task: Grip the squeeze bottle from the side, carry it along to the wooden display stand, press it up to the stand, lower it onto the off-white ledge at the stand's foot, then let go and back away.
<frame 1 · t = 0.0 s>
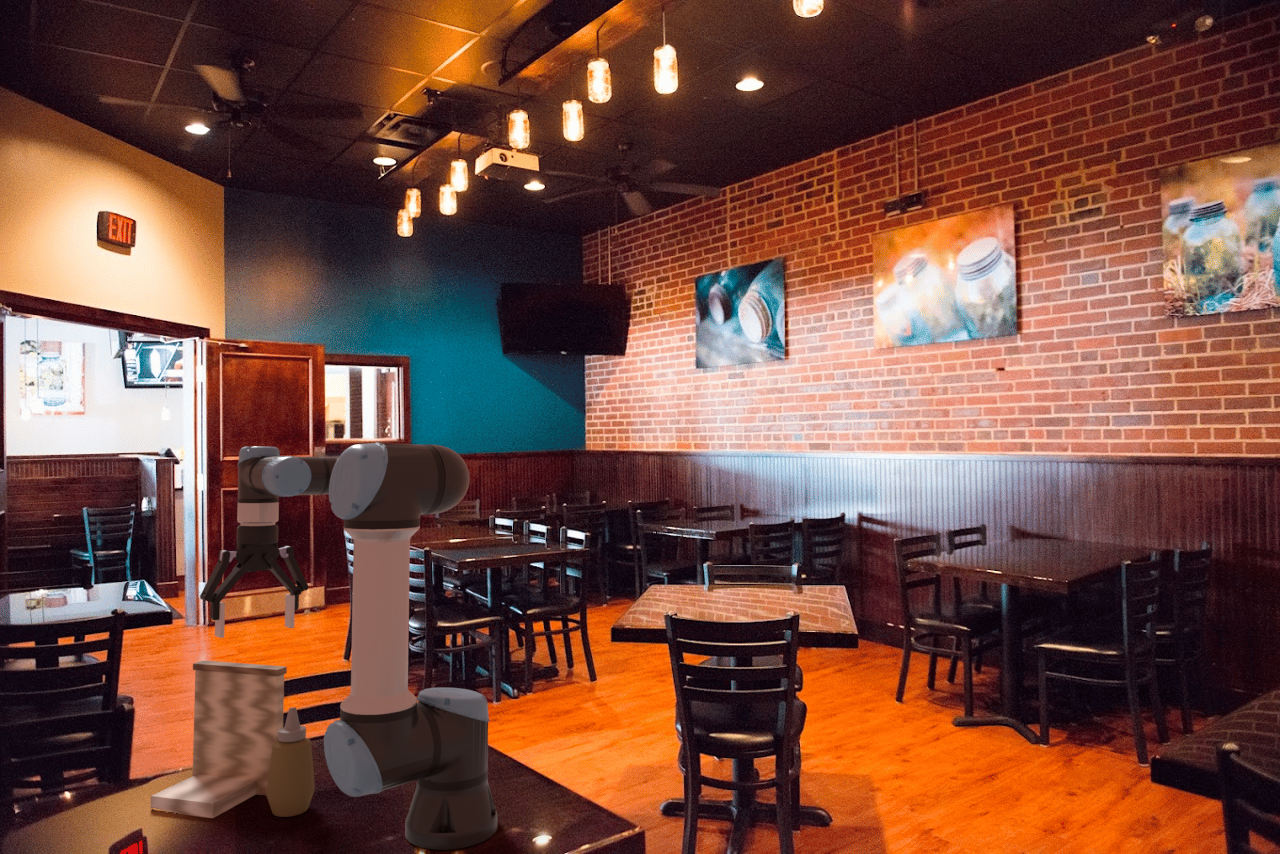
hand: (255, 631, 170), 28 cm above the table, tool pointing down, fingers open, 13 cm apart
squeeze bottle: (290, 812, 152), on the table
wooden display stand: (218, 802, 155), on the table
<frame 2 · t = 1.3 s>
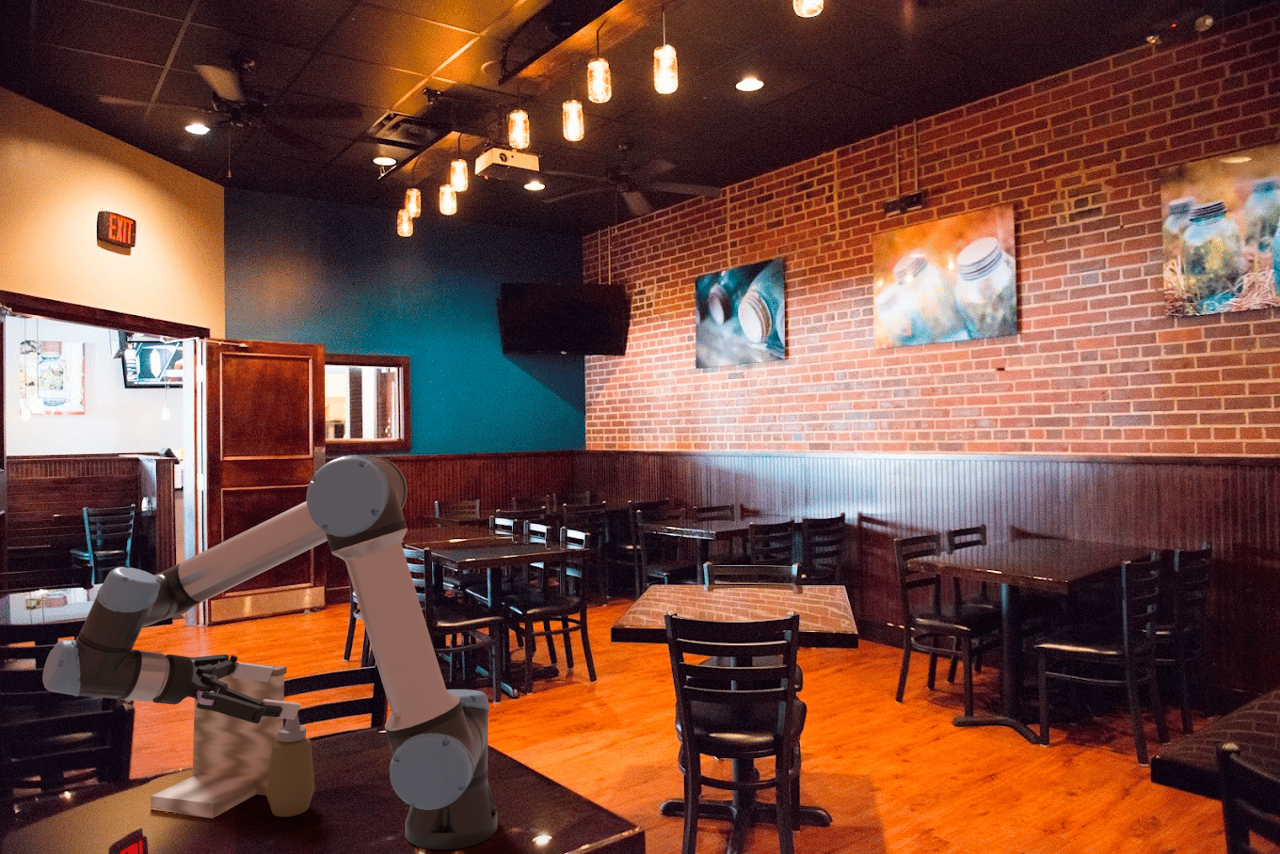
hand: (283, 692, 151), 21 cm above the table, tool tilted 75°, fingers open, 13 cm apart
nothing on the table moved.
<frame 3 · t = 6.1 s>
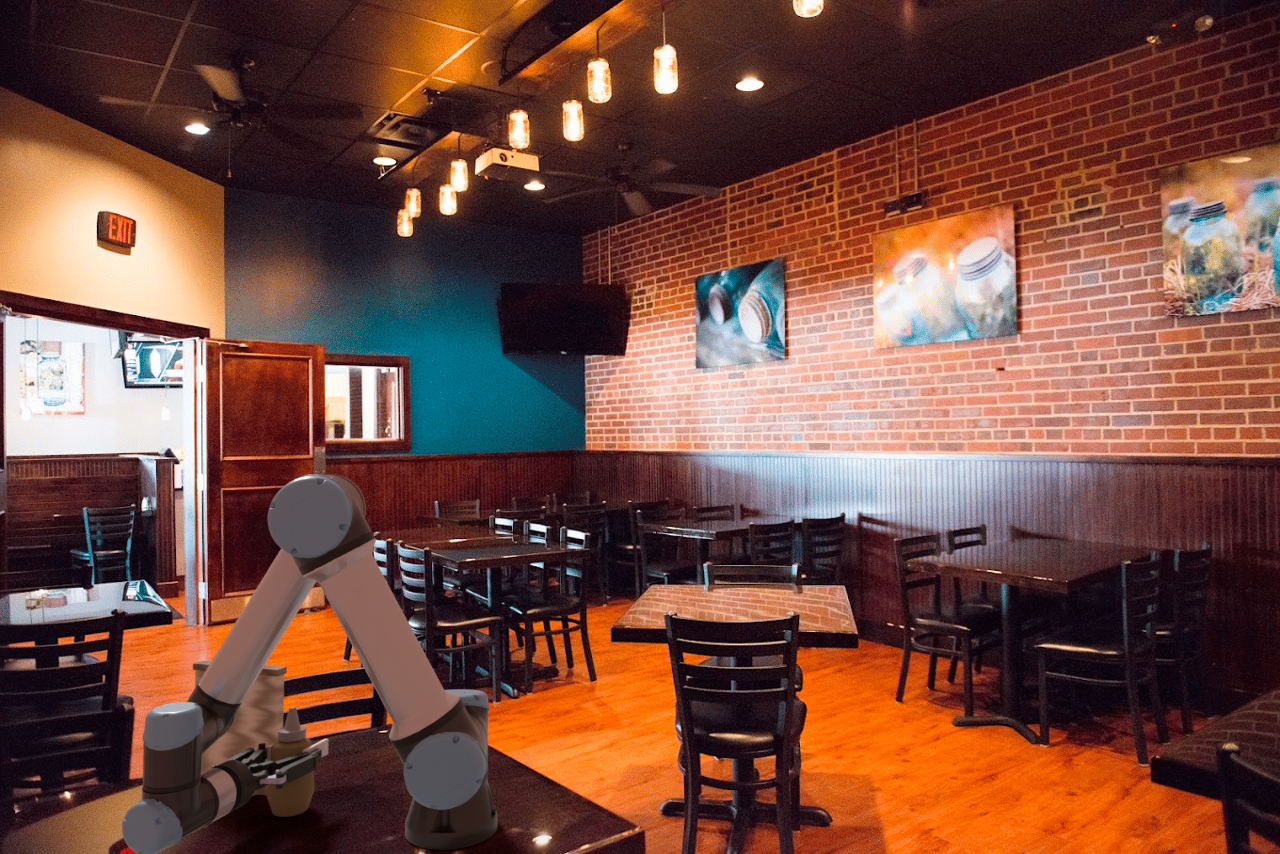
hand: (309, 744, 157), 10 cm above the table, tool horizontal, fingers closed on squeeze bottle, 6 cm apart
squeeze bottle: (290, 812, 152), on the table, touching gripper
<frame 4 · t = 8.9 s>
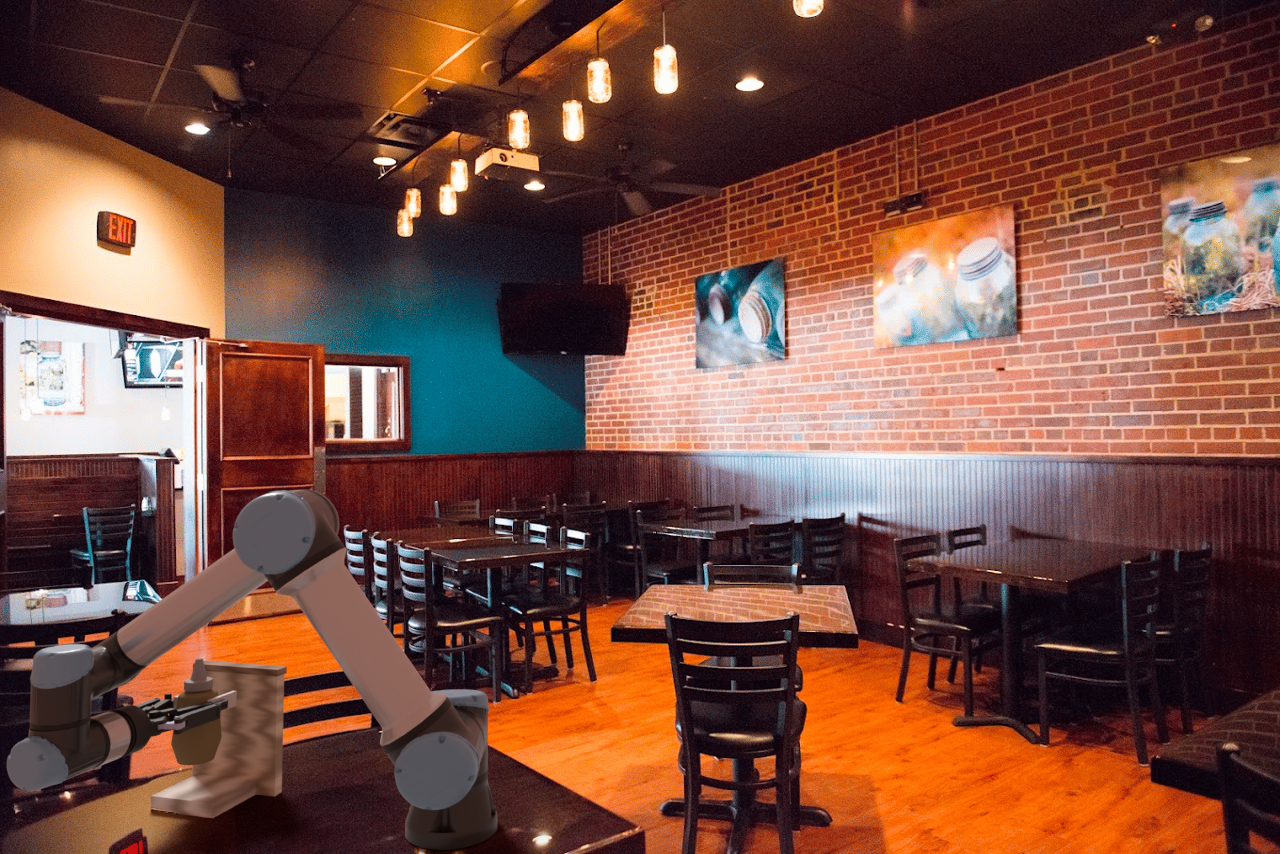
hand: (218, 696, 158), 18 cm above the table, tool horizontal, fingers closed on squeeze bottle, 6 cm apart
squeeze bottle: (196, 762, 153), point 8 cm above the table, touching gripper
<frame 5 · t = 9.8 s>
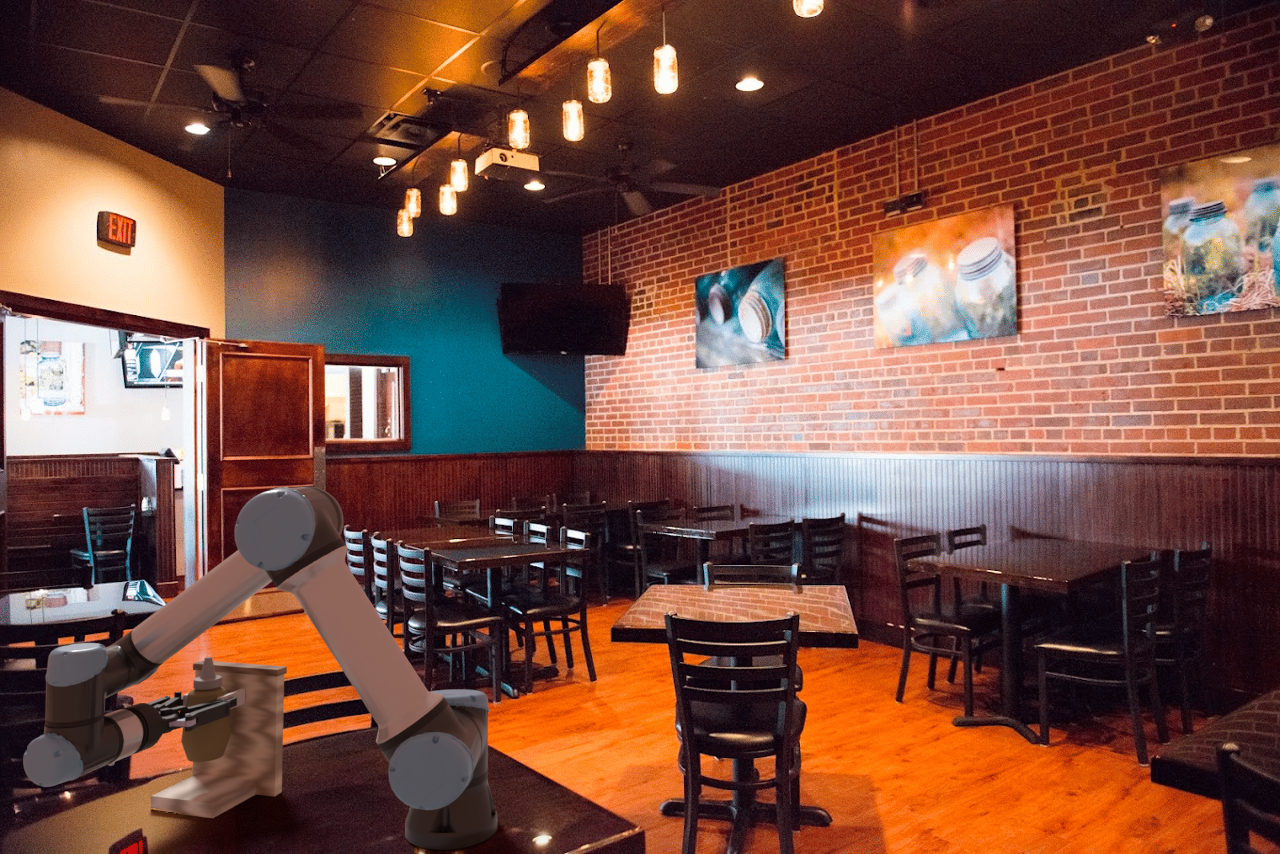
hand: (226, 694, 161), 18 cm above the table, tool horizontal, fingers closed on squeeze bottle, 6 cm apart
squeeze bottle: (205, 758, 156), point 8 cm above the table, touching gripper
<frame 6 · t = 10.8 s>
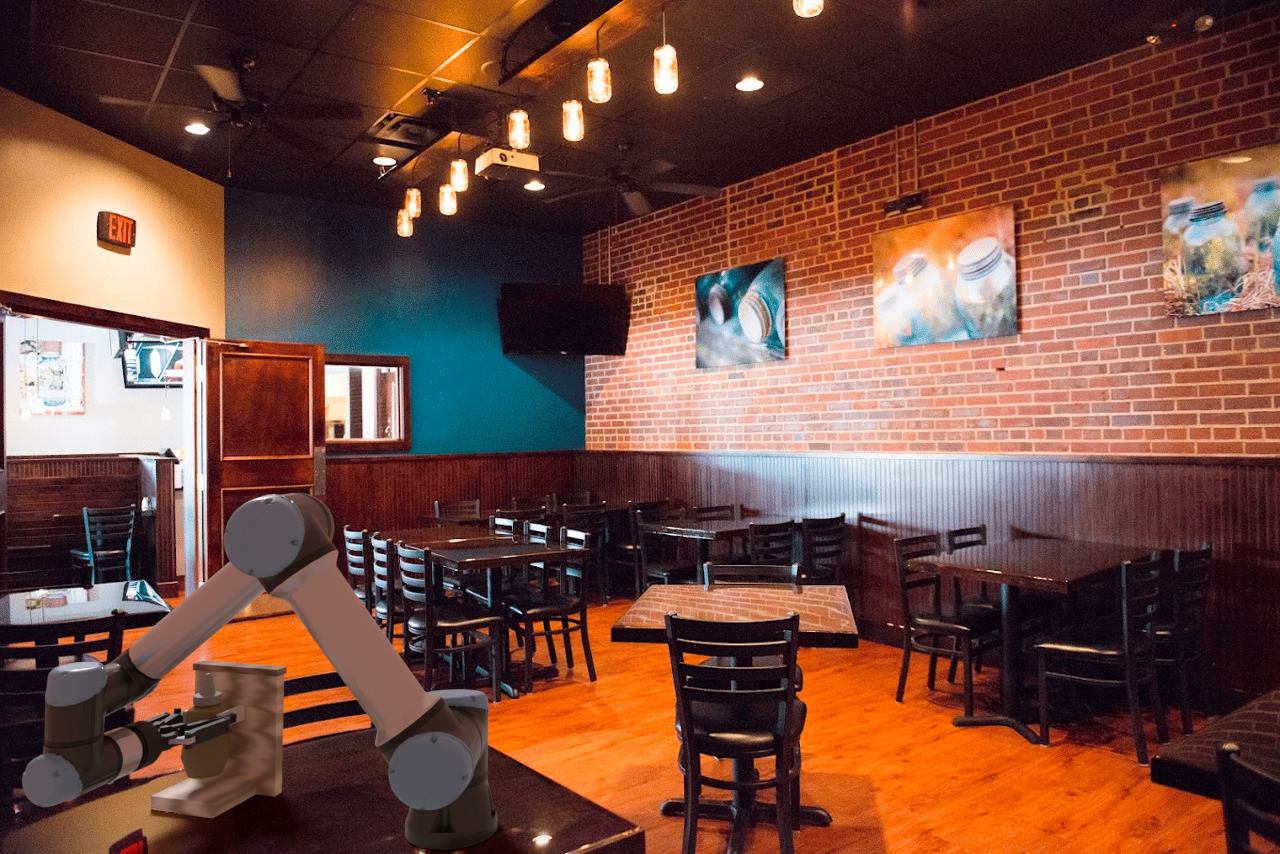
hand: (226, 710, 161), 15 cm above the table, tool horizontal, fingers closed on squeeze bottle, 6 cm apart
squeeze bottle: (205, 775, 156), point 5 cm above the table, touching gripper
when the fingers open (14 cm above the table, at t = 11.5 s): squeeze bottle drops 1 cm, resting on wooden display stand.
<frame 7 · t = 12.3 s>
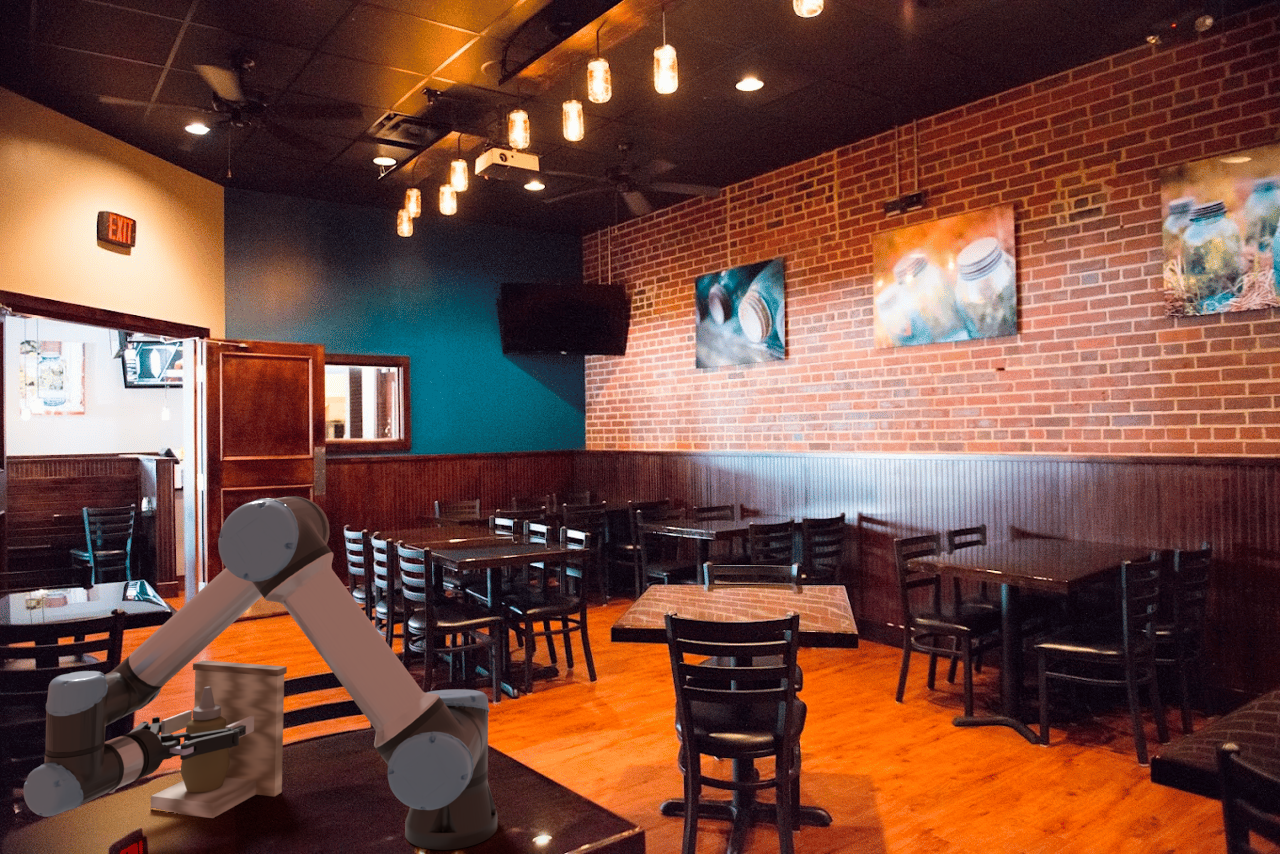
hand: (221, 720, 160), 13 cm above the table, tool horizontal, fingers open, 13 cm apart
squeeze bottle: (204, 788, 156), point 2 cm above the table, touching wooden display stand
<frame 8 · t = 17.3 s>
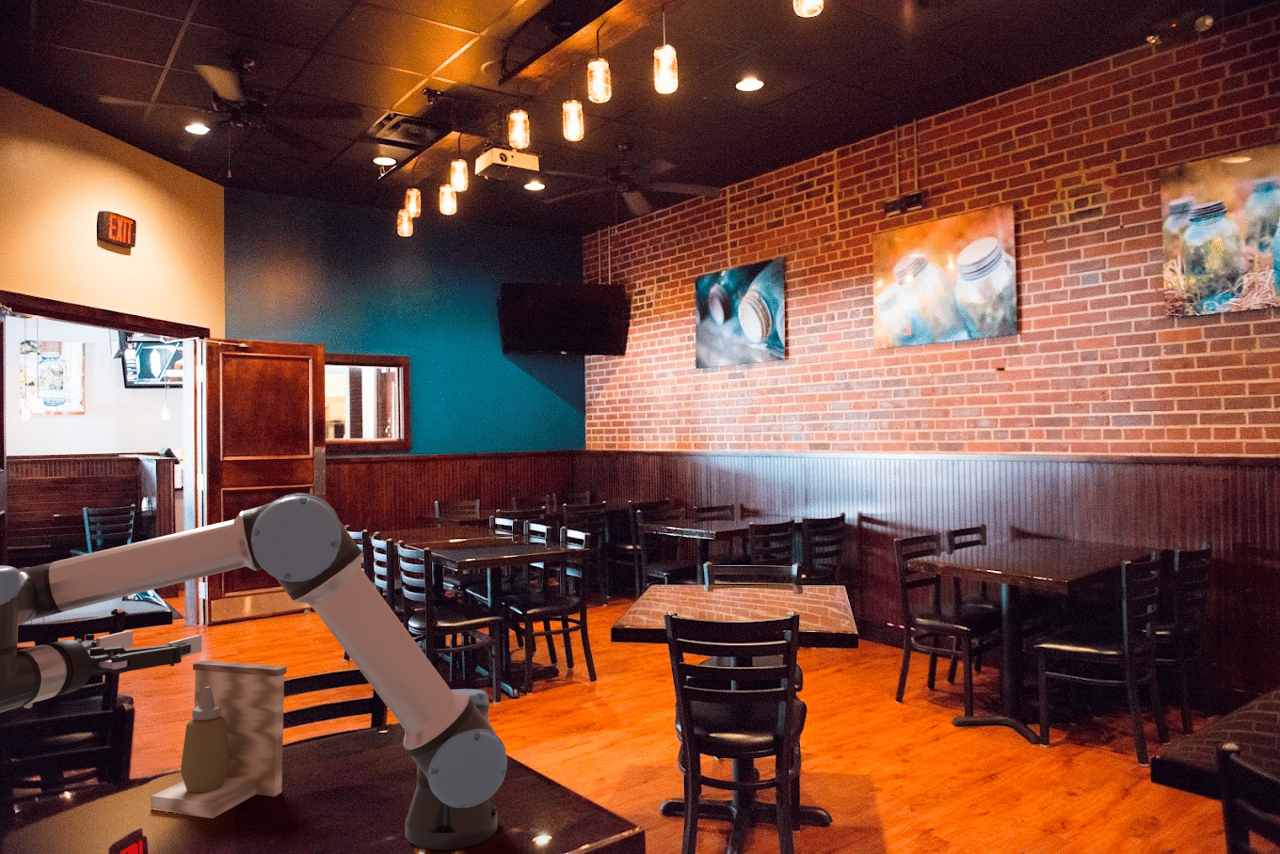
hand: (165, 640, 142), 32 cm above the table, tool horizontal, fingers open, 13 cm apart
nothing on the table moved.
at the end: squeeze bottle inside the target area on the wooden display stand (0.4 cm from its centre), point 2.3 cm above the wooden display stand's base; squeeze bottle tilted 0°; the gripper is holding nothing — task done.
